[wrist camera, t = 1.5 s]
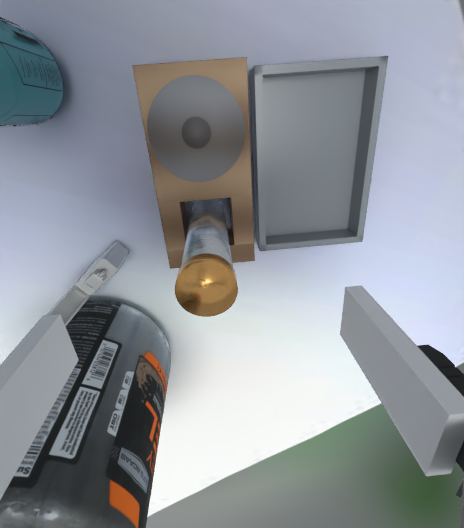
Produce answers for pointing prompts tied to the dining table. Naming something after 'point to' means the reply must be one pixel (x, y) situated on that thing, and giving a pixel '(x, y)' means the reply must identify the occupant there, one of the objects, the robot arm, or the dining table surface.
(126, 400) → the supplement tub
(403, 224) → the dining table surface
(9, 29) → the beverage bottle
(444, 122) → the dining table surface
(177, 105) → the pulley block
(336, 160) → the tray
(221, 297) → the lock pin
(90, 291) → the lighter
